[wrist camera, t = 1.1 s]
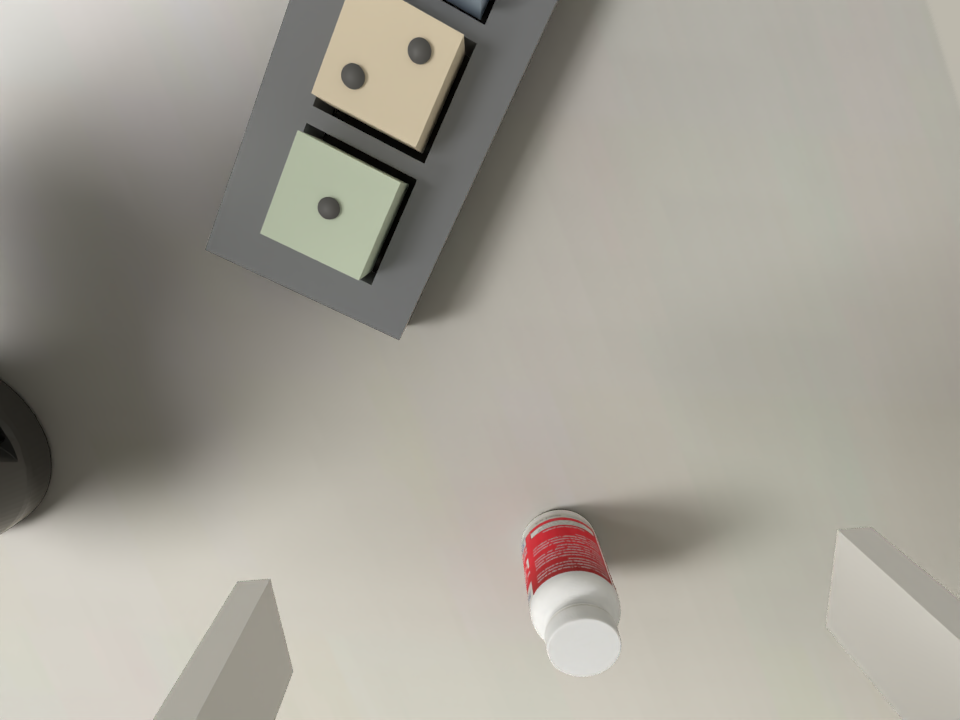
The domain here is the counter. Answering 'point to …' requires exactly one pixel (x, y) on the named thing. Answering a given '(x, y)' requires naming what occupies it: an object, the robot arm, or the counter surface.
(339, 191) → the pale green counting block
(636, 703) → the counter surface
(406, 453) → the counter surface
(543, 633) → the pill bottle
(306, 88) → the grey counting block tray
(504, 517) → the counter surface
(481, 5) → the light blue block
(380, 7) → the beige counting block
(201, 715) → the robot arm
